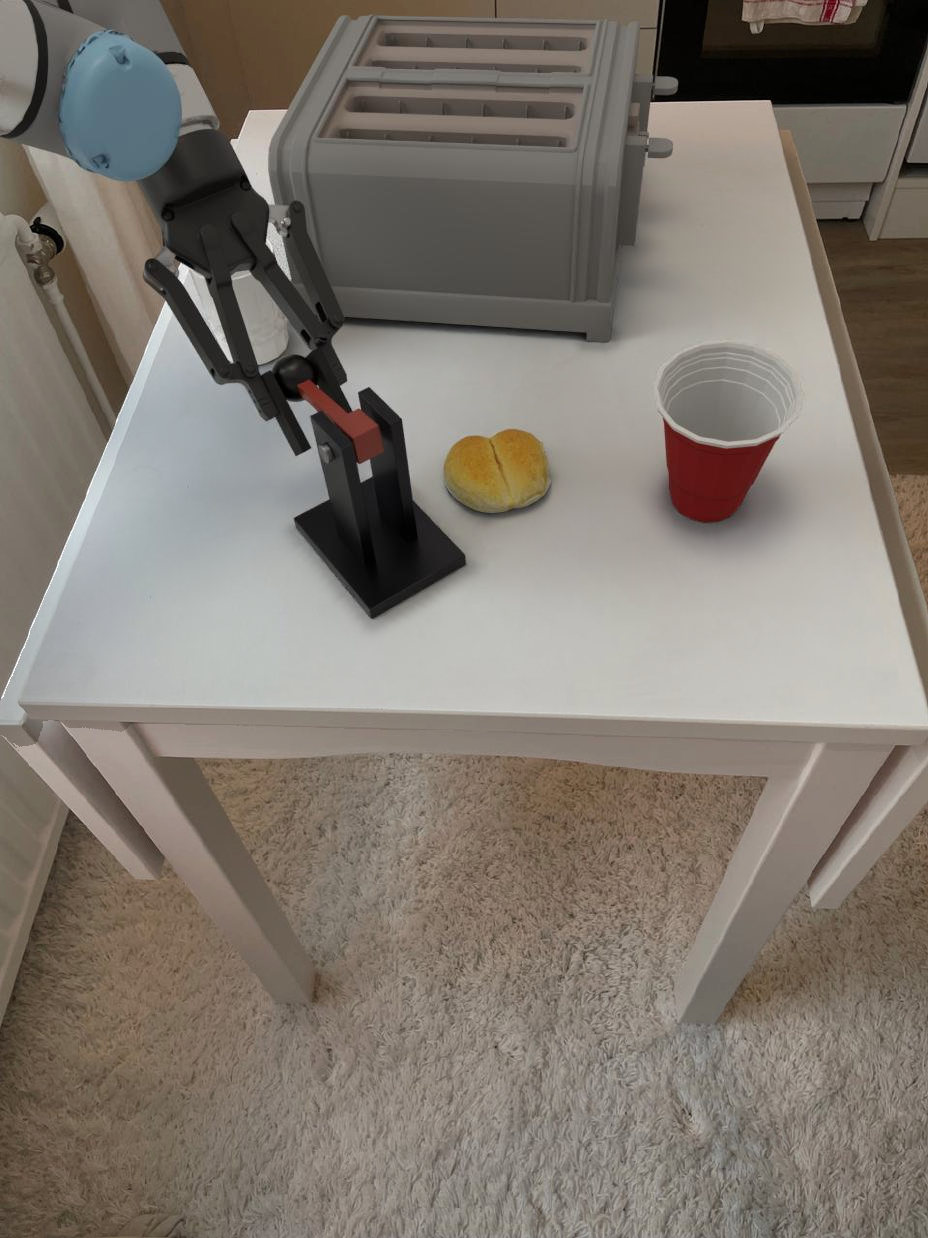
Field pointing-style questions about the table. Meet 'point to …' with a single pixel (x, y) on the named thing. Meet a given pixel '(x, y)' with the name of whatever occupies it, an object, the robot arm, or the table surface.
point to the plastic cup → (722, 421)
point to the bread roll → (497, 471)
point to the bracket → (374, 517)
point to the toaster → (471, 168)
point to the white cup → (249, 315)
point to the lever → (327, 405)
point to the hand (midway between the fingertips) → (327, 439)
